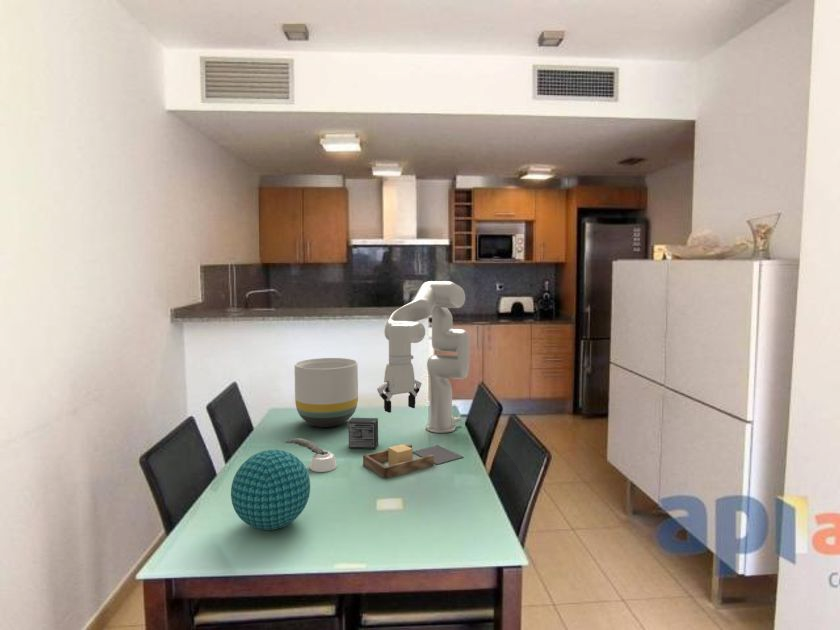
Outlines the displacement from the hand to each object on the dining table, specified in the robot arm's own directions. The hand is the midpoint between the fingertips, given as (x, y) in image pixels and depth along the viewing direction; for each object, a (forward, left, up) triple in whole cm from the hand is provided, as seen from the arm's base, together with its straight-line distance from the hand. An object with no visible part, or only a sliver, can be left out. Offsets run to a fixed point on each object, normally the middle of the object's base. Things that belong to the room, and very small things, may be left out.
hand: (399, 409), depth 179 cm
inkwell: (+26, -16, -20) cm, 36 cm away
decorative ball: (+51, +16, -20) cm, 57 cm away
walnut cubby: (0, 0, -20) cm, 20 cm away
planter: (0, -58, -20) cm, 61 cm away
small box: (+1, -24, -20) cm, 31 cm away
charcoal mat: (-16, 0, -20) cm, 25 cm away
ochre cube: (0, 0, -20) cm, 20 cm away
